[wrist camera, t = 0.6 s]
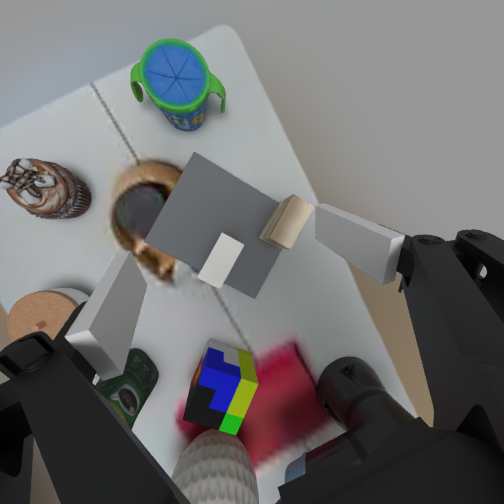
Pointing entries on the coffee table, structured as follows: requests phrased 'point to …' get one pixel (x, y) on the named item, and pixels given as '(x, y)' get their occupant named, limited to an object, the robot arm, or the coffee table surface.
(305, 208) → the oak slab
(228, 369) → the puzzle toy
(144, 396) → the coffee jar
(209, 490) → the vase
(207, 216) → the mat
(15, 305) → the lidded jar
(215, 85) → the snack cup
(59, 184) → the cupcake
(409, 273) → the robot arm
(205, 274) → the cream slab
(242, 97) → the coffee table surface
